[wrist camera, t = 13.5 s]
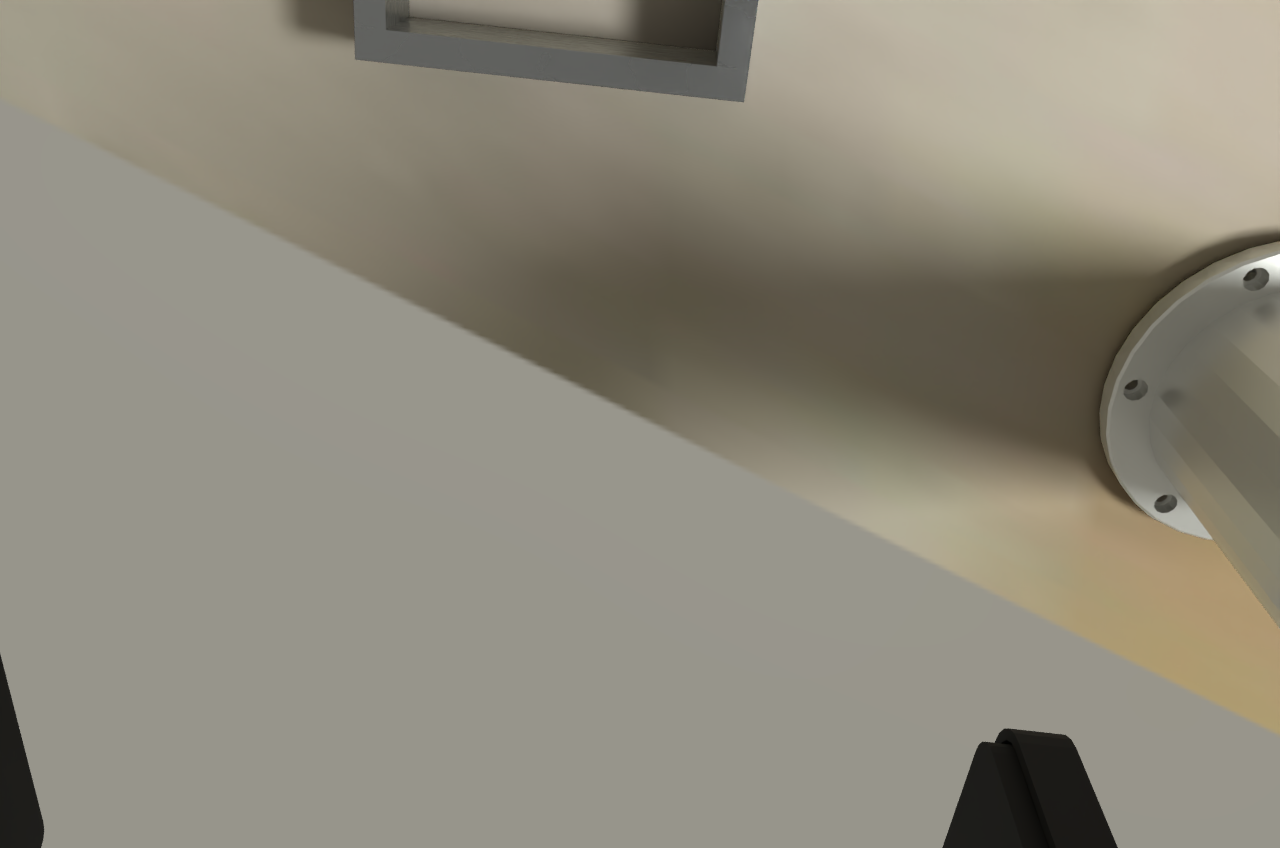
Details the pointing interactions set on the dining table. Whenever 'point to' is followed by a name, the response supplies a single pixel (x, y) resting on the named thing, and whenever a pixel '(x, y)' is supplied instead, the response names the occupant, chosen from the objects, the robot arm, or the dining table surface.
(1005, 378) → the dining table surface
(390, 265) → the dining table surface
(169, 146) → the dining table surface
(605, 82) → the collar
